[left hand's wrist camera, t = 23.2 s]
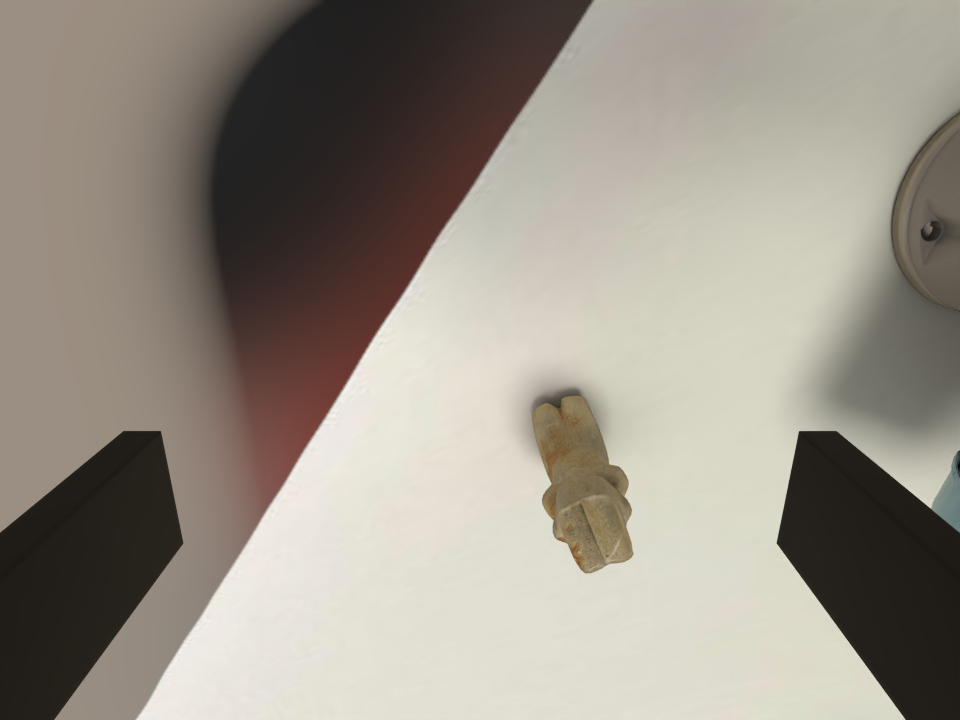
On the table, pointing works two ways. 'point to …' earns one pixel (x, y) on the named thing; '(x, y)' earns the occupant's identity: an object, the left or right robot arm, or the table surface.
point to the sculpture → (582, 485)
